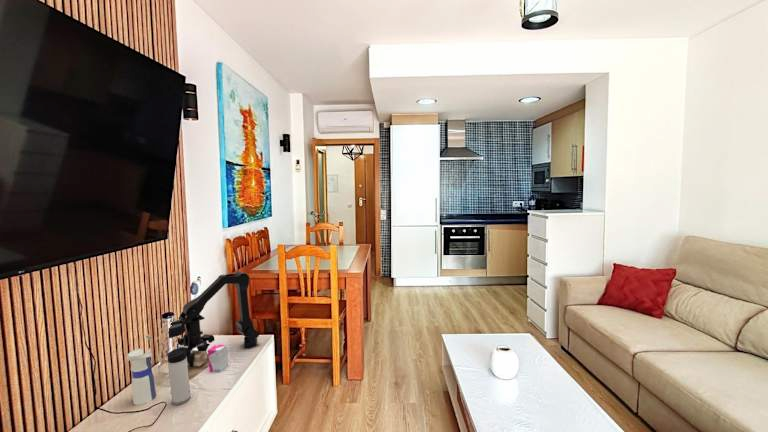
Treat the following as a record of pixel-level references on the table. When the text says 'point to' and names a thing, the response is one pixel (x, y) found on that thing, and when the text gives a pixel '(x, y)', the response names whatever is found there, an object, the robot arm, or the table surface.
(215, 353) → the supplement box
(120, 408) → the table surface
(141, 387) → the water bottle
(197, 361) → the sanding block
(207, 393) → the table surface
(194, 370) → the walnut board
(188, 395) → the travel mug
